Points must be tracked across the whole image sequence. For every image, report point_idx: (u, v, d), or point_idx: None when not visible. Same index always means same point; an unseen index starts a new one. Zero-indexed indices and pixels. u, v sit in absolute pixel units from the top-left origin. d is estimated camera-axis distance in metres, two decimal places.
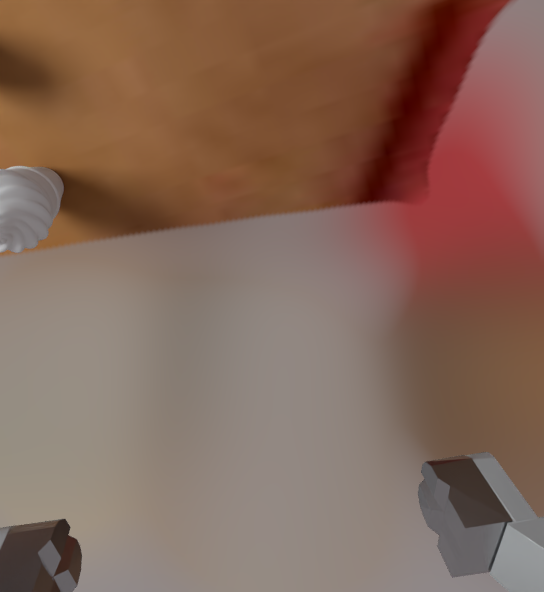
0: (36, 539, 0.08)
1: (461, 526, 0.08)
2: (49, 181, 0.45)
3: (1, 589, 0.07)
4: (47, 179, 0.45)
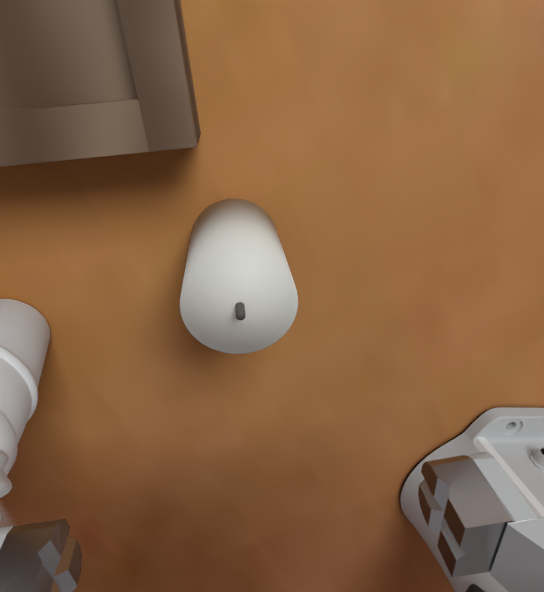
0: (36, 539, 0.08)
1: (461, 526, 0.08)
2: None
3: (1, 589, 0.07)
4: None
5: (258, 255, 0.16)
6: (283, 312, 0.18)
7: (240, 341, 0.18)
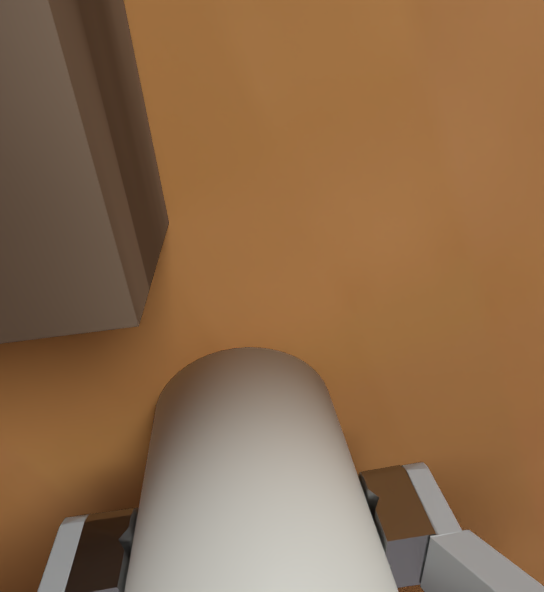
0: (114, 526, 0.08)
1: (384, 539, 0.08)
2: None
3: (88, 574, 0.08)
4: None
5: None
6: None
7: None
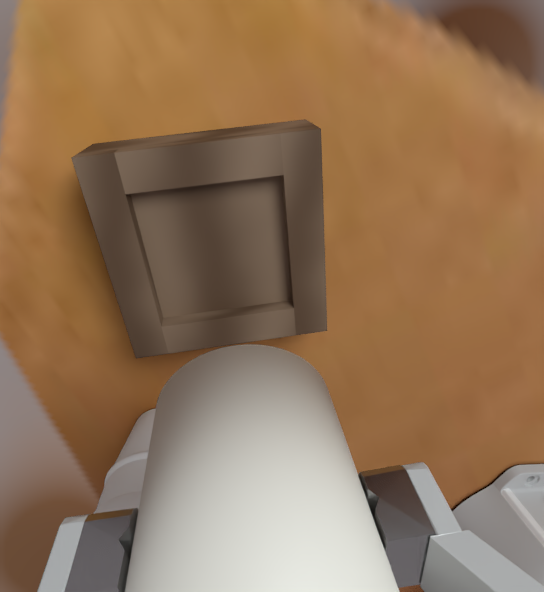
0: (114, 526, 0.08)
1: (384, 539, 0.08)
2: None
3: (88, 575, 0.08)
4: None
5: None
6: None
7: None
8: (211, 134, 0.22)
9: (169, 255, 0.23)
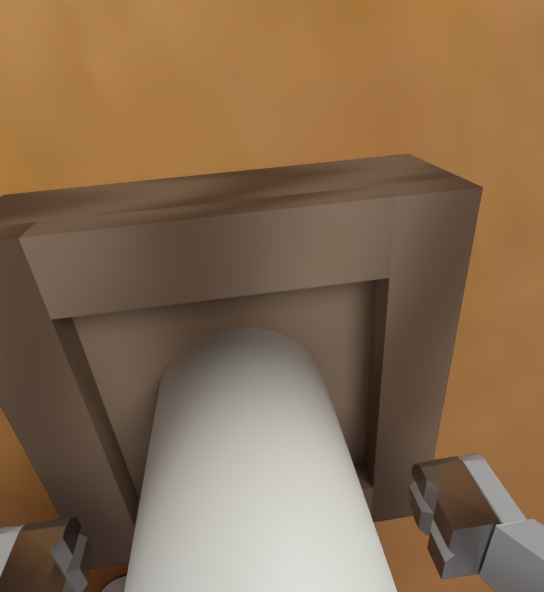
0: (48, 537, 0.08)
1: (449, 528, 0.08)
2: None
3: (15, 587, 0.07)
4: None
5: None
6: None
7: None
8: (236, 185, 0.11)
9: (149, 406, 0.12)
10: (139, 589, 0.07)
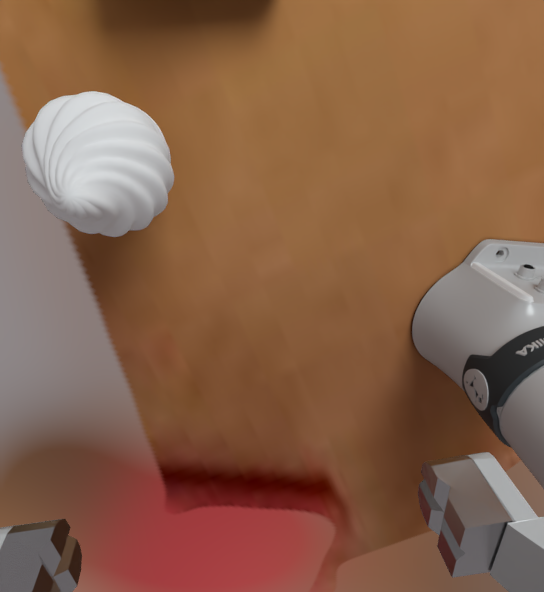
0: (36, 539, 0.08)
1: (461, 526, 0.08)
2: None
3: (1, 589, 0.07)
4: None
5: None
6: None
7: None
8: None
9: None
10: None
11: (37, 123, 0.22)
